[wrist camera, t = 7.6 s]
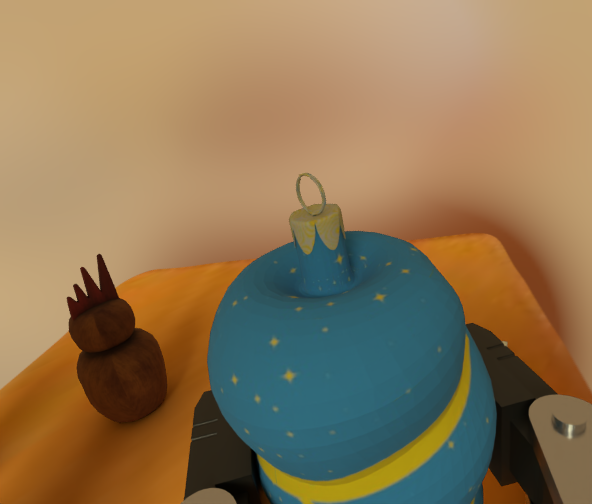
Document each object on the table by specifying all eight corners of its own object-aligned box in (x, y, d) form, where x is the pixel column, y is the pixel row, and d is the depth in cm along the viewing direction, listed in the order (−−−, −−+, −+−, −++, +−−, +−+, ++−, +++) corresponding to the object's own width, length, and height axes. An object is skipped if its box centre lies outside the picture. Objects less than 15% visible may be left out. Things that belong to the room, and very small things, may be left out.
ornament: (422, 871, 9) (266, 285, 3) (287, 650, 13) (111, 210, 7) (535, 664, 12) (558, 130, 6) (394, 532, 16) (325, 138, 10)
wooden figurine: (174, 374, 42) (120, 240, 36) (180, 411, 37) (118, 262, 31) (104, 401, 40) (36, 265, 34) (101, 444, 35) (20, 293, 29)
